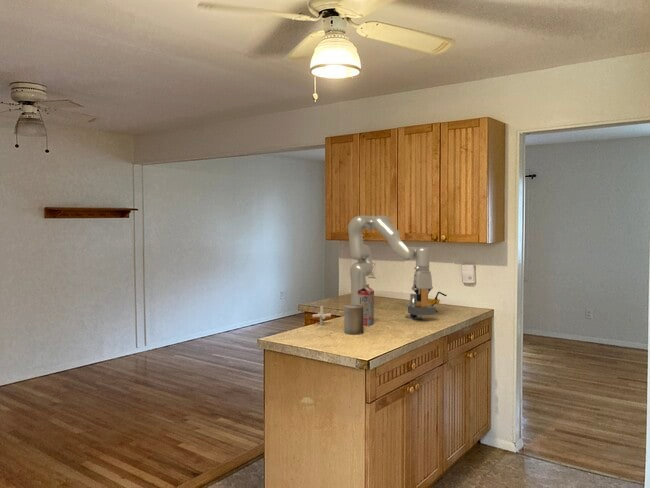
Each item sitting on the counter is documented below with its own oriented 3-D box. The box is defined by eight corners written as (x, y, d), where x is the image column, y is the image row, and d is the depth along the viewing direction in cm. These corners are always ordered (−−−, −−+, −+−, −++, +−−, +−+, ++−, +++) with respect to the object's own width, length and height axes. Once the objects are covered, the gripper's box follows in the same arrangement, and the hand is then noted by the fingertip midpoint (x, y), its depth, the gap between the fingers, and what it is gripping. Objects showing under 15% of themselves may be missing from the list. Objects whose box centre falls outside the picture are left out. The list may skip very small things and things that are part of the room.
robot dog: (445, 314, 309) (445, 292, 308) (417, 311, 318) (417, 290, 317) (447, 312, 314) (448, 291, 313) (419, 310, 323) (420, 289, 322)
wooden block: (417, 306, 289) (417, 285, 289) (423, 306, 291) (423, 285, 290) (421, 307, 285) (421, 286, 285) (427, 307, 287) (427, 286, 287)
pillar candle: (367, 332, 255) (367, 303, 254) (354, 335, 248) (354, 305, 248) (353, 329, 262) (353, 301, 261) (340, 332, 255) (340, 303, 255)
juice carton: (373, 324, 276) (374, 284, 275) (368, 326, 270) (368, 285, 269) (362, 323, 279) (363, 283, 278) (357, 325, 274) (357, 284, 273)
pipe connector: (314, 326, 268) (315, 308, 267) (310, 323, 277) (310, 305, 277) (332, 326, 271) (333, 307, 270) (327, 322, 280) (328, 304, 280)
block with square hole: (417, 322, 282) (418, 297, 281) (400, 317, 298) (400, 293, 297) (435, 321, 286) (435, 296, 286) (417, 315, 303) (417, 292, 302)
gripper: (413, 270, 280) (413, 302, 281) (438, 269, 287) (438, 300, 288) (406, 268, 287) (406, 300, 288) (430, 267, 294) (430, 299, 295)
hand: (422, 300), depth 288 cm, fingers closed on wooden block, 4 cm apart
